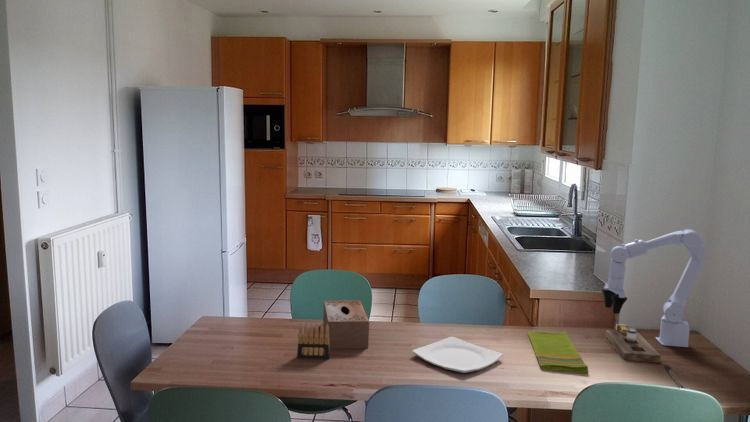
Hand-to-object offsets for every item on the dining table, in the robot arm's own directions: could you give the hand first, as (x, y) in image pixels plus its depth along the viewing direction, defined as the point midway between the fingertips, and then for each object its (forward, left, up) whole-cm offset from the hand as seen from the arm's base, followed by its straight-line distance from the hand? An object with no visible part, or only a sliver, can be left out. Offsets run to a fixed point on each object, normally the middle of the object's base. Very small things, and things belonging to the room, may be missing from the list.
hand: (612, 310), depth 226 cm
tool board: (-4, +15, -10) cm, 18 cm away
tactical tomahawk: (-11, +41, -10) cm, 44 cm away
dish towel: (+26, +25, -11) cm, 38 cm away
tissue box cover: (+102, +26, -10) cm, 106 cm away
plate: (+60, +39, -10) cm, 73 cm away
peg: (-4, +14, -10) cm, 18 cm away
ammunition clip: (+108, +49, -10) cm, 120 cm away
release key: (-4, +4, -7) cm, 9 cm away
